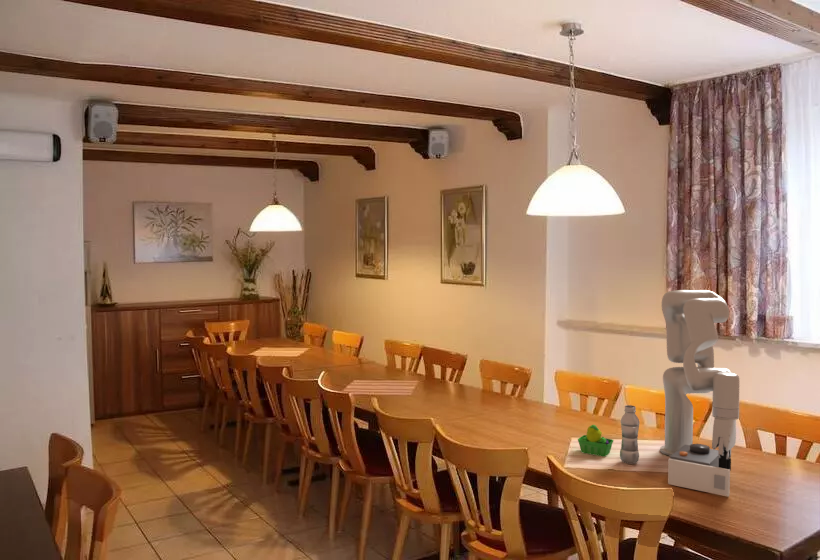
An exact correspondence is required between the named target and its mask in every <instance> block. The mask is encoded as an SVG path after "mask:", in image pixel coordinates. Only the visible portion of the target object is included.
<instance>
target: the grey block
mask: <svg viewBox="0 0 820 560" xmlns="http://www.w3.org/2000/svg"><path fill="white" fill-rule="evenodd" d="M710 447H711V446H709V445H706V444H701V443H693V444H691V445H684V446H683V447H681V448H680V449H679V450H678V451H676V452H675V453H674V454H672V455H671V456H669V458H671V459H676V460H682V461H687V462H692V463H698V464H703V465H708V466H714V467H719V455H718V452H719V449H713V448H710Z"/></svg>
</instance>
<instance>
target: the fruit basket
mask: <svg viewBox="0 0 820 560" xmlns="http://www.w3.org/2000/svg"><path fill="white" fill-rule="evenodd" d="M602 435H603V434H602V431H601V429H600V428H599V427H598V426H597V425H596V424H591V425H590V426H588V427H587V431H586V434H584V435H582V436H581V437H579V438H577V442H578V445H579V447H580V452H581V453H583V454H586V455H593V456H598V457H604V458H605V457H607V456H608V455H609V454H610V453H611V449H612V445H613V443H614V441H615V440H614V439H612V438H606V437H604V436H602Z"/></svg>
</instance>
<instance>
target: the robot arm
mask: <svg viewBox="0 0 820 560" xmlns="http://www.w3.org/2000/svg"><path fill="white" fill-rule="evenodd" d="M661 311H662V315H663V317H664V320H665V327H666V328H665V329H666V356H667V359H668V361H670V362H671V363H674V364H675V363H676V364H683V366H674V367H669V368H667V369H665V370H664V372H663V374H662V383H663V389H664V400H665V401H664V403H665V404H664V405H665V407H664V409H665V410H664V445H662V446H660V448H659V451H660V453H662V454H663V455H666V456H668V457H670V456H671V455H672V454H674V453H675V452H676V451H678V450H679V449H680V448H681V447H683V446H684V445H691V444H694V443H693V441H694V440H693V438H694V437H693V436H694V434H693V433H694V432H693V431H694V428H693V427H694V407H693V403H692V401H691V400H690V398H688V396H687V394H688V395H689V394H709V393H711V392H712V408H711V409H712V410H711V411H712V412H711V413H712V415H711V416H712V417H713V418H714V420H713V424H712V425H713V426H712V437H711V438H712V441H711V449H714V450H717V448H718V450H719V452H718V455H719V468H725V469H730V472H731V470H732V449H733V448H734V447H735V446H736V443H737V422H736V420H738V419H740V376H739V375H738V374H737V373H734V372H732V371H731V369H729V368H727V367H715V352H714V346H715V345H716V344H717V343H718V341H719V335H718V331H717V328H716V325H715V324H716V323H720V324H723V323H726V322H727V320H729V318H730V317H729V316H730V308H729V306H728V304H727V302H726V300H725V299H724V298H723V297H722V296H720V295H718V294H717V293H716V292H715V291H711V290H707V289H693V290H692V289H691V290H690V289H679V290H678V289H677V290H676V289H675V290H670V291H667V292H665V293H664V294H663V296H662V298H661Z"/></svg>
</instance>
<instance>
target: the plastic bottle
mask: <svg viewBox="0 0 820 560" xmlns="http://www.w3.org/2000/svg"><path fill="white" fill-rule="evenodd" d="M636 409H637V407H636V405H632V404H630V405H628V404H626V405H624V413H623V415H622V416H621V418H620V428H621V429H620V430H621V446H620V451H619V458H620V461H621V462H623V463H626V464H633V465H634V464H637V463H638V462H639V459H640V452H639V446H638V445H639V444H638V443H639V441H638V437H639V430H640V429H639V428H640V419H639V418H638V415H637V414H636Z"/></svg>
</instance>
